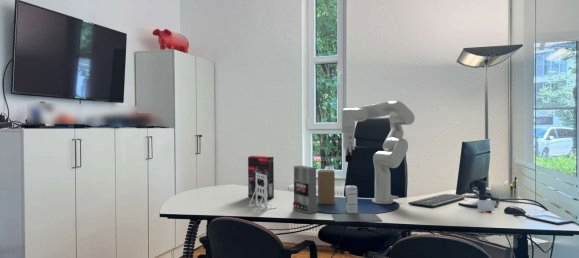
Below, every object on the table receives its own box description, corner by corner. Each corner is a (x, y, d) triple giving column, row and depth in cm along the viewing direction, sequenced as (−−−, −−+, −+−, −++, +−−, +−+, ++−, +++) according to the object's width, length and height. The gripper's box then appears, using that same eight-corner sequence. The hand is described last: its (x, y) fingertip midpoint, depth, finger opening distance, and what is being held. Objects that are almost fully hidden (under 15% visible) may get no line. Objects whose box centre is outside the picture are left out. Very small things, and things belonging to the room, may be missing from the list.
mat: (375, 214, 216) (375, 213, 216) (382, 221, 202) (382, 220, 202) (331, 215, 215) (331, 214, 215) (335, 221, 202) (335, 221, 202)
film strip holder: (278, 208, 232) (278, 174, 231) (257, 211, 224) (257, 176, 224) (267, 203, 244) (267, 171, 243) (246, 206, 237) (246, 173, 236)
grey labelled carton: (292, 209, 229) (292, 166, 228) (300, 207, 232) (300, 165, 232) (308, 214, 218) (307, 168, 217) (316, 212, 221) (316, 167, 221)
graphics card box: (247, 197, 264) (247, 156, 263) (253, 195, 270) (253, 155, 269) (268, 200, 255) (268, 157, 254) (274, 198, 261) (274, 156, 260)
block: (334, 201, 250) (334, 169, 249) (334, 204, 240) (334, 171, 239) (318, 200, 251) (318, 169, 250) (318, 204, 241) (317, 171, 240)
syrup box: (357, 213, 219) (357, 187, 219) (347, 213, 219) (347, 187, 218) (355, 210, 225) (355, 185, 224) (345, 210, 225) (345, 185, 224)
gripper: (357, 130, 222) (357, 163, 223) (352, 129, 237) (352, 160, 238) (344, 130, 222) (344, 163, 222) (339, 129, 237) (339, 160, 237)
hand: (348, 161), depth 230 cm, fingers closed
